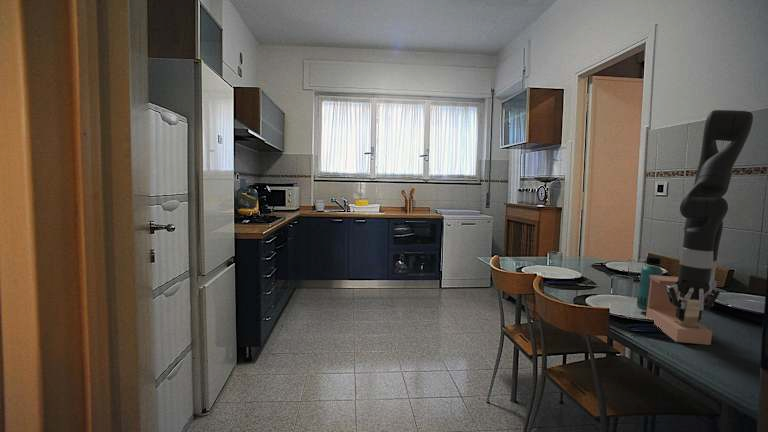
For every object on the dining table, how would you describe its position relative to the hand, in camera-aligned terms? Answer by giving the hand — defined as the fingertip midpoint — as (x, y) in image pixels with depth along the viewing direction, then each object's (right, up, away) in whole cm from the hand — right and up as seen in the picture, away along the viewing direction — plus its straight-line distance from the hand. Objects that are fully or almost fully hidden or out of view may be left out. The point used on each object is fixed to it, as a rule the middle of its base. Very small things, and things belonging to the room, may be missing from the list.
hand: (687, 320), depth 118 cm
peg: (0, -3, 0) cm, 3 cm away
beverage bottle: (+1, -3, +21) cm, 21 cm away
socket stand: (+1, -5, +6) cm, 7 cm away
